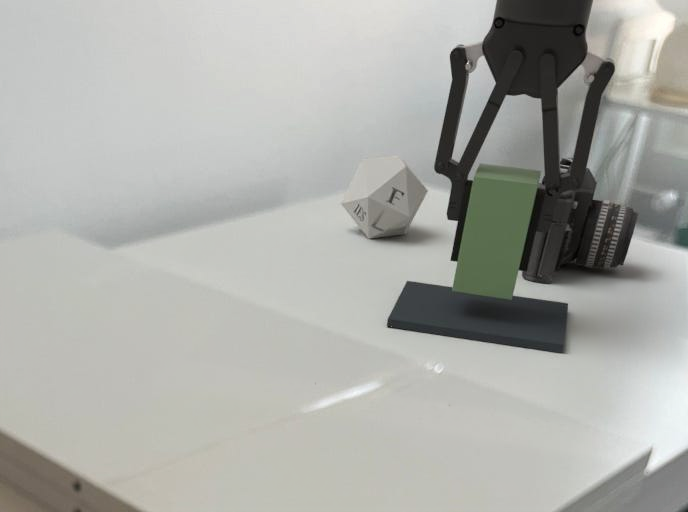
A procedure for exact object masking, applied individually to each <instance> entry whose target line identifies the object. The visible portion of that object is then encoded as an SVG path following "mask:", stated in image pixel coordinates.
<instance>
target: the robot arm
mask: <svg viewBox="0 0 688 512" xmlns="http://www.w3.org/2000/svg"><path fill="white" fill-rule="evenodd" d="M593 3H594V0H496V2H495V7H494V13H493V19H492V23H491V26H490V28H489V31H487V34H486V35H485V36H484V37H483V40H482V41H479V42H475V43H471V44H466V45H465V44H461V43H459V44H457V45H455V46H454V47H453V49H452V50H451V51H450V53H449V64H450V72H451V73H450V74H451V83H450V88H449V92H448V96H447V101H446V102H447V103H446V106H445V112H444V116H443V121H442V126H441V131H440V136H439V141H438V145H437V146H438V147H437V151H436V156H435V160H434V165H433V169H434V172H435V173H436V174H438V175H443V176H444V177H446V178H448V179H449V181H450V183H451V187H450V193H449V198H448V204H447V209H446V218H447V219H446V220H447V221H452V222H453V221H454V222H457V223H456V229H455V234H454V240H453V245H452V250H451V255H450V259H449V260H450V262H456V263H457V262H458V256H459V251H460V246H461V241H462V235H463V230H464V225H465V220H466V215H467V209H468V204H469V199H470V194H471V188H472V183H473V179H469V175H470V172H471V171H472V168H473V166H474V164H475V162H476V159H477V158H478V156H479V153H480V151H481V149H482V147H483V145H484V143H485V141H486V139H487V137H488V134H489V132H490V130H491V128H492V126H493V124H494V122H495V120H496V119H497V115H498V114H499V111H500V109H501V107H502V105H503V103H504V101H505V98H506V96H512V97H516V96H521V95H525V96H528V97H530V98H532V99H539V100H541V101H540V104H541V105H540V106H541V116H542V117H541V118H542V140H543V141H542V142H543V143H542V145H543V164H544V165H543V166H544V176H545V189H538V188H537V192H536V196H535V201H534V205H533V209H532V214H531V218H530V222H529V227H528V231H527V236H526V240H525V244H524V249H523V253H522V258H521V262H520V266H519V271H520V272H522V271H527V268H528V264H529V260H530V255H531V251H532V247H533V242H534V238H535V234H536V231H538V232H545V233H547V232H548V230H549V229H550V227H551V223H552V219H553V215H554V211H555V207H556V202H557V199H558V197H559V195H560V194H561V193H563V192H566V191H570V190H578V189H580V188H581V187H582V185H583V181H584V176H585V172H586V168H588V167H587V166H588V161H589V158H590V153H591V149H592V148H591V147H592V142H593V139H594V133H595V129H596V124H597V119H598V115H599V110H600V106H601V101H602V96H603V93H604V92H605V90H606V88H607V87H608V84H609V83H610V81H611V79H612V78H613V75H614V74H615V72H616V63H615V61H614V60H613V58H603V57H601V56H599V55H597V54H595V53H592V52H591V51H589V46H588V43H587V42H588V41H587V38H586V37H587V35H586V34H587V28H588V24H589V20H590V16H591V11H592V8H593ZM481 57H484V60H485V61H486V64H487V66H488V69H489V71H490V73H491V75H492V77H493V80H494V82H495V84H494V86H493V89H492V90H491V93H490V95H489V97H488V99H487V101H486V103H485V106H484V108H483V110H482V112H481V114H480V116H479V119H478V121H477V123H476V126H475V127H474V129H473V131H472V134H471V136H470V138H469V140H468V143H467V144H466V147H465V149H464V151H463V153H462V155H461V156H460V157H461V158H460V160H459V161H457V160H455V159H453V154H454V149H455V144H456V140H457V136H458V131H459V127H460V122H461V116H462V113H463V108H464V102H465V99H466V93H467V89H468V84H469V78H470V74H472V73H473V72H474V71H475V70H476V68H477V67H478V61H479V59H480V58H481ZM580 66H582V67H583V69H584V73H583V83H584V84H585V85H586V86H587V90H586V93H585V97H584V102H583V108H582V112H581V117H580V122H579V128H578V131H577V137H576V141H575V147H574V151H573V156H572V158H573V161H572V166H571V171H570V173H566V174H562V175H561V173H560V161H561V147H560V121H559V120H560V119H559V118H560V117H559V89H560V88H561V86H562V85H563V84H564V83H565V82H566V81H567V79H569V78H570V77H571V76H572V74H573V73H574V72H576V70H577V69H578V68H579V67H580Z"/></svg>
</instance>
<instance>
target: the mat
mask: <svg viewBox="0 0 688 512" xmlns="http://www.w3.org/2000/svg"><path fill="white" fill-rule="evenodd" d="M452 288H453V286H446V285H441V284H440V285H439V284H432V283H426V282H418V281H412V280H406V282H405V284H404V286H403V288H402V290H401V292H400V294H399V296H398V297H397V299H396V302H395V304H394V306H393V307H392V310H391V312H390V314H389V316H388V318H387V321H386V327H387V326H392V327H397V328H396V329H399V328H401V329H400V330H405V329H406V330H405V331H412V332H419V333H426V334H433V335H439V336H446V337H452V338H458V339H466V340H474V341H480V342H486V343H494V344H499V345H504V346H505V345H506V346H512V347H519V348H524V349H525V348H526V349H533V350H540V351H546V352H553V353H559V354H562V353H563V352H564V349H565V344H566V343H565V342H566V331H567V320H568V311H569V303H568V302H562V301H556V300H555V301H554V300H549V299H547V300H546V299H541V298H534V297H526V296H519V295H513V297H512V300H510V299H503V298H496V297H489V296H482V295H475V294H468V293H462V292H455V291H452ZM392 327H391V328H392Z"/></svg>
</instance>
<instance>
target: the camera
mask: <svg viewBox="0 0 688 512" xmlns="http://www.w3.org/2000/svg"><path fill="white" fill-rule="evenodd" d="M572 161H573V157H566V158H564V157H561V159H560V173H561V175H562V174H566V173H570V171H571V166H572ZM597 184H598V182H597V181H596V179H595V177H594V175H593V173H592V171H591V170H590V168H589V167H586V172H585V176H584V181H583V185H582V187H581V188H580V189H578V190H570V191H566V192H563V193H561V194H560V195H559V197H558V199H557V202H556V207H555V211H554V215H553V219H552V223H551V227H550V229H549V230H548V232H547V233H545V232H538V231H536V234H535V238H534V242H533V247H532V251H531V255H530V260H529V264H528V268H527V271H521V276H522V277H523V279H524V280H527V281H530V282H534V283H541V284H550V283H552V280H553V279H554V276H555V272H556V271H559V270H560V266H561V265H565V264H568V263H571V262H575V263H574V264H575V265H579V266H584V267H585V268H590V269H591V268H597V267H599V268H602V269H605V270H606V269H607V270H609V268H613V269H615V268H617V267H618V266H624V264H625V260H626V258H627V255H628V252H629V248H630V244H631V241H632V238H633V235H634V231H635V227H636V224H637V221H638V215H639V212H637V211H634V209H633V207H629V206H627V204H623V203H621V204H616V203H615V202H611V201H610V200H609V199H603V200H598V199H594V196H595V193H596V188H597ZM537 188H538V189H545V175H543V177H542V180H541V182H539V183H538V187H537Z"/></svg>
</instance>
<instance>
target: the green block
mask: <svg viewBox="0 0 688 512" xmlns="http://www.w3.org/2000/svg"><path fill="white" fill-rule="evenodd" d="M477 166H478V167H477V169H476V171H475V173H474V175H473V179H472V180H473V183H472V188H471V194H470V199H469V204H468V209H467V215H466V220H465V225H464V230H463V235H462V241H461V246H460V251H459V256H458V262H456V267H455V273H454V278H453V282H452V283H453V284H452V287H453V288H452V291H455V292H462V293H468V294H475V295H482V296H489V297H496V298H503V299H510V300H512V297H513V296H514V292H515V289H516V283H517V278H518V276H519V275H518V274H519V271H520V270H519V266H520V262H521V258H522V253H523V249H524V244H525V240H526V236H527V231H528V227H529V222H530V218H531V214H532V209H533V205H534V201H535V196H536V192H537V187H538V183H540V178H541V174H542V170H539V169H538V170H537V169H529V168H521V167H512V166H505V165H496V164H488V163H479V164H478V165H477Z"/></svg>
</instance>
